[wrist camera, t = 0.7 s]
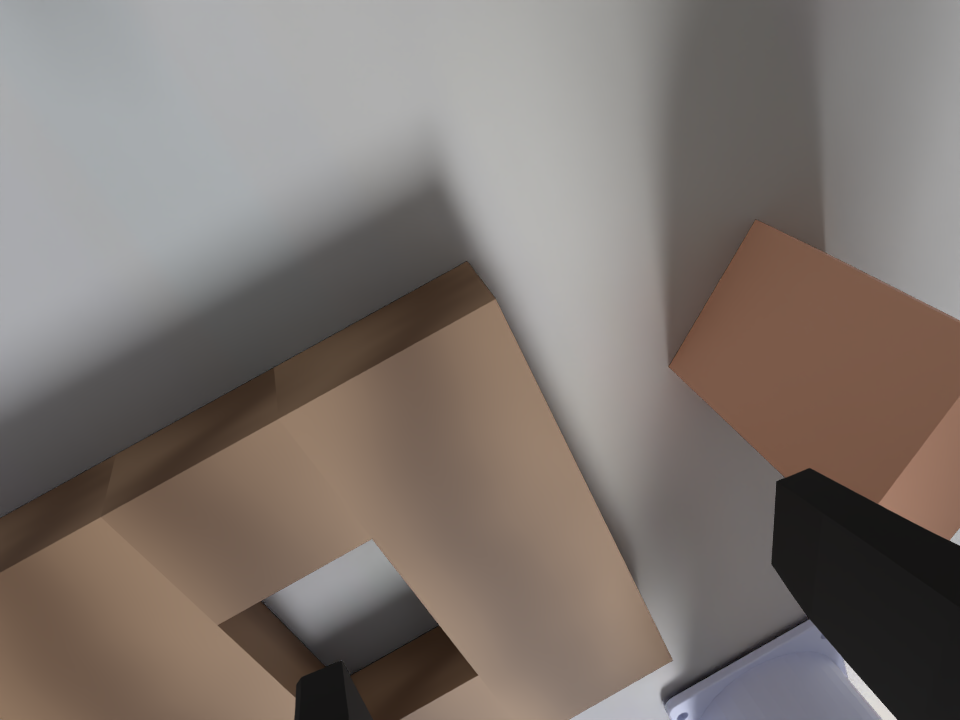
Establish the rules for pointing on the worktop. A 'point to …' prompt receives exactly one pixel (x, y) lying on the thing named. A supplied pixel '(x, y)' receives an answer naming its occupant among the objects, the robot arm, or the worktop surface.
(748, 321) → the salmon brown rectangular block
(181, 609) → the socket plate
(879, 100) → the worktop surface
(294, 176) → the worktop surface
